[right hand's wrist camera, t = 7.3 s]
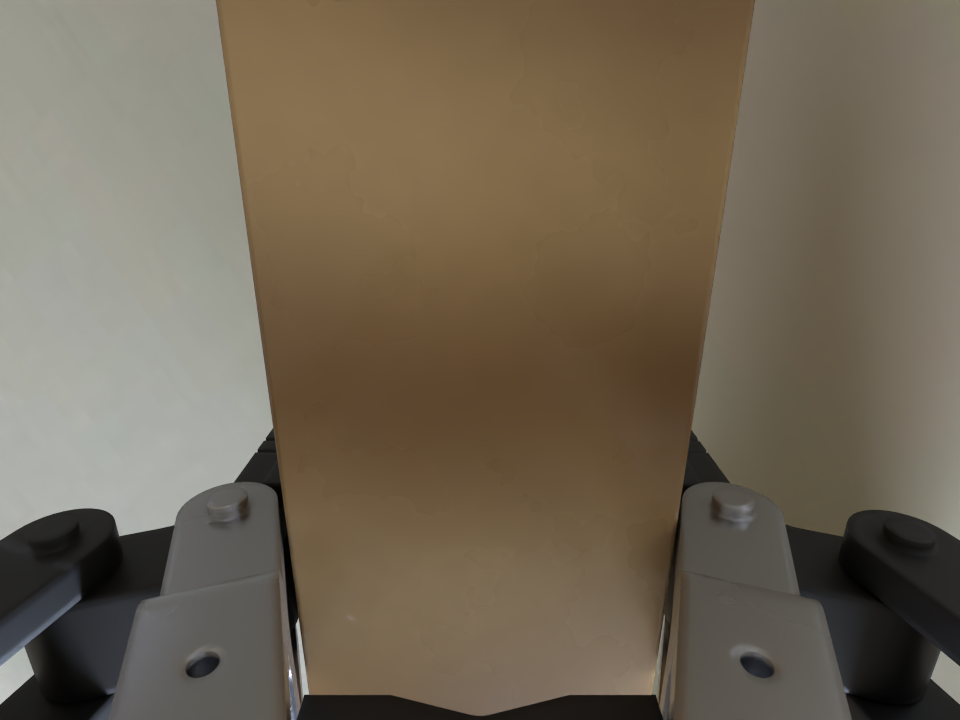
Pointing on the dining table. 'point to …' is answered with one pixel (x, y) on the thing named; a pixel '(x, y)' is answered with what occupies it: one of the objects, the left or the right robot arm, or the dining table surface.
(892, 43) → the dining table surface
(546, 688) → the bar
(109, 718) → the right robot arm
